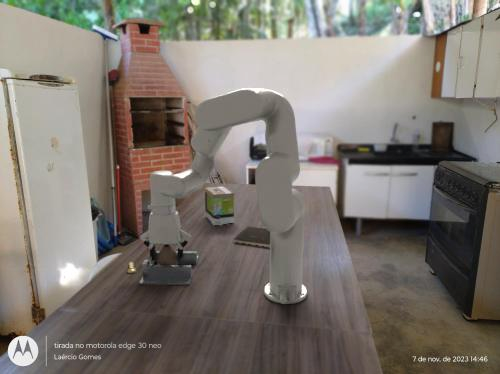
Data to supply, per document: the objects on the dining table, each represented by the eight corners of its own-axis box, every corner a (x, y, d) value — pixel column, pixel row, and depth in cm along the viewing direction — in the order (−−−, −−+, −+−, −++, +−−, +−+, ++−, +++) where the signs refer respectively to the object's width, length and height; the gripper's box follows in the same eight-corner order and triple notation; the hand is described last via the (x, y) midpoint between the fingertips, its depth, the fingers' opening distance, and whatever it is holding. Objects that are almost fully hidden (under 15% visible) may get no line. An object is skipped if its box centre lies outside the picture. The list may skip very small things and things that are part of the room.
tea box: (234, 223, 172) (234, 192, 168) (213, 226, 168) (212, 194, 165) (224, 214, 185) (224, 185, 182) (204, 216, 182) (203, 187, 178)
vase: (169, 263, 131) (168, 240, 129) (182, 269, 127) (181, 244, 125) (153, 270, 126) (151, 246, 124) (166, 276, 122) (165, 251, 120)
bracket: (189, 284, 117) (188, 270, 115) (139, 284, 117) (138, 269, 116) (198, 257, 137) (198, 244, 135) (156, 256, 137) (155, 244, 136)
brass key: (136, 273, 125) (136, 270, 125) (127, 274, 124) (127, 272, 124) (135, 263, 132) (135, 261, 131) (127, 265, 131) (126, 262, 131)
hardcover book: (289, 252, 142) (289, 246, 141) (233, 244, 150) (233, 238, 149) (299, 237, 156) (300, 232, 156) (248, 230, 164) (248, 225, 164)
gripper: (133, 212, 118) (137, 263, 122) (188, 212, 118) (191, 264, 122) (140, 205, 125) (144, 254, 130) (192, 205, 125) (194, 254, 129)
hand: (167, 258), depth 126 cm, fingers open, 8 cm apart
